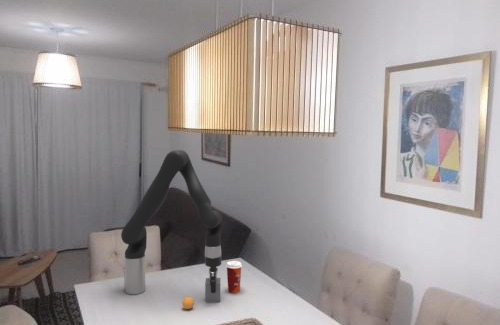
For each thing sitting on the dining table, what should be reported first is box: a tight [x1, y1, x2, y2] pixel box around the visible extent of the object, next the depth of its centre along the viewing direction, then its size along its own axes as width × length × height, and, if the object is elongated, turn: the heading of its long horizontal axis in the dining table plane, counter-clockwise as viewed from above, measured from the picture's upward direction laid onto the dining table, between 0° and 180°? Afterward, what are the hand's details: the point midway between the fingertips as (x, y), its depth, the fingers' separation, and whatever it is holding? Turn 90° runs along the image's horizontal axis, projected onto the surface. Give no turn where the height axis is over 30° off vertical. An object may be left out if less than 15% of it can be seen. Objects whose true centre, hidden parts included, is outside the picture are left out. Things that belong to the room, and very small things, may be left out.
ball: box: [181, 296, 195, 310], centre depth 172 cm, size 5×5×5 cm
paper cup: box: [225, 260, 243, 294], centre depth 191 cm, size 8×8×14 cm
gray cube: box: [204, 277, 222, 303], centre depth 182 cm, size 7×7×9 cm
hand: (213, 289), depth 182 cm, fingers open, 8 cm apart
